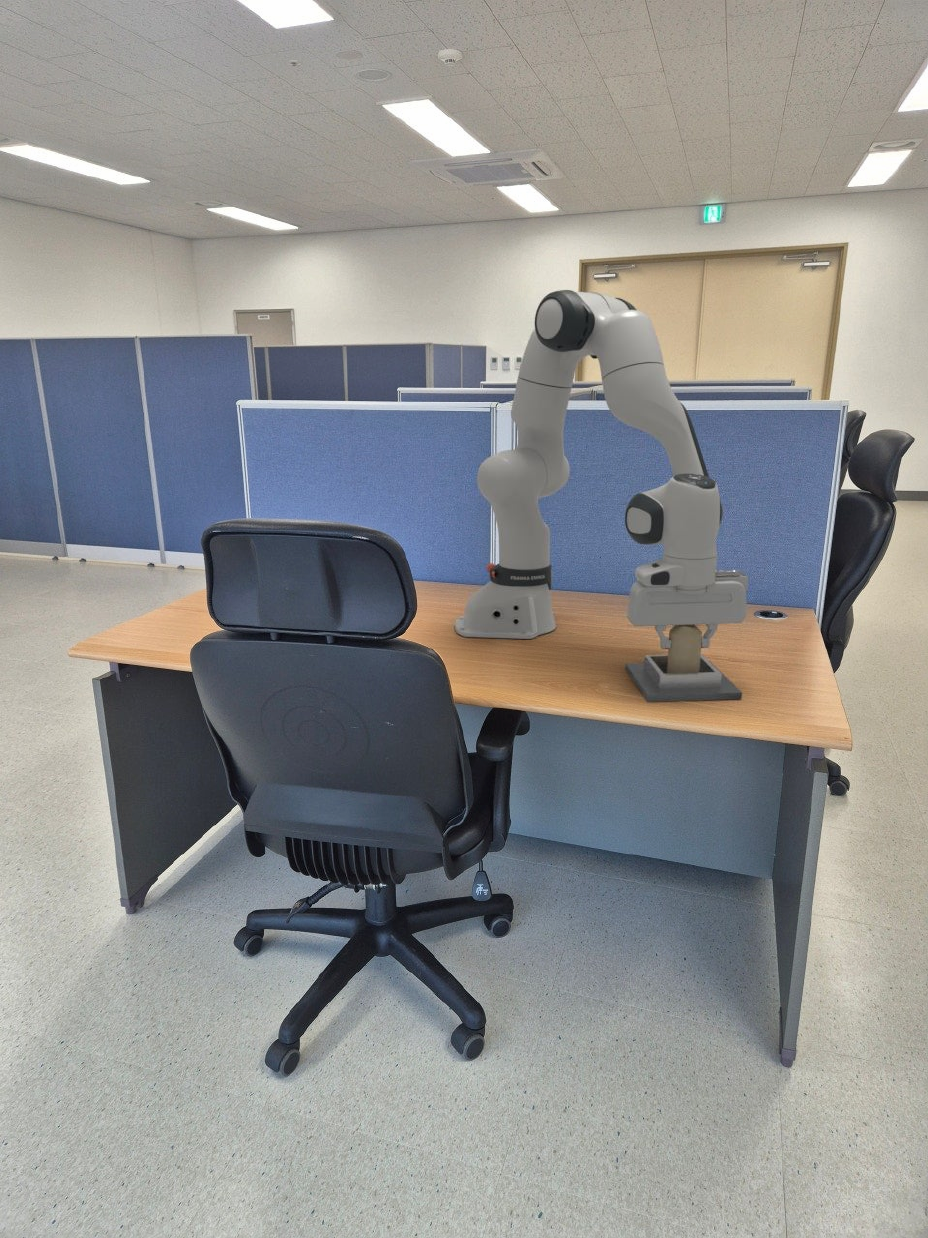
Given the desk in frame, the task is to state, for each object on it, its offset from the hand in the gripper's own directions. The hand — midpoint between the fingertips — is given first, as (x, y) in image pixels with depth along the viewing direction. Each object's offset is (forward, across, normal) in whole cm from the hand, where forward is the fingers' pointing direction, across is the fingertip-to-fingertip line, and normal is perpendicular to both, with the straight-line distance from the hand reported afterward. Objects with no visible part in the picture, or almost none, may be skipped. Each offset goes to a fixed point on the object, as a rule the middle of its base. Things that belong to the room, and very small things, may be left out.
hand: (684, 647), depth 138 cm
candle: (+6, 0, 0) cm, 6 cm away
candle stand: (+7, 0, 0) cm, 7 cm away
